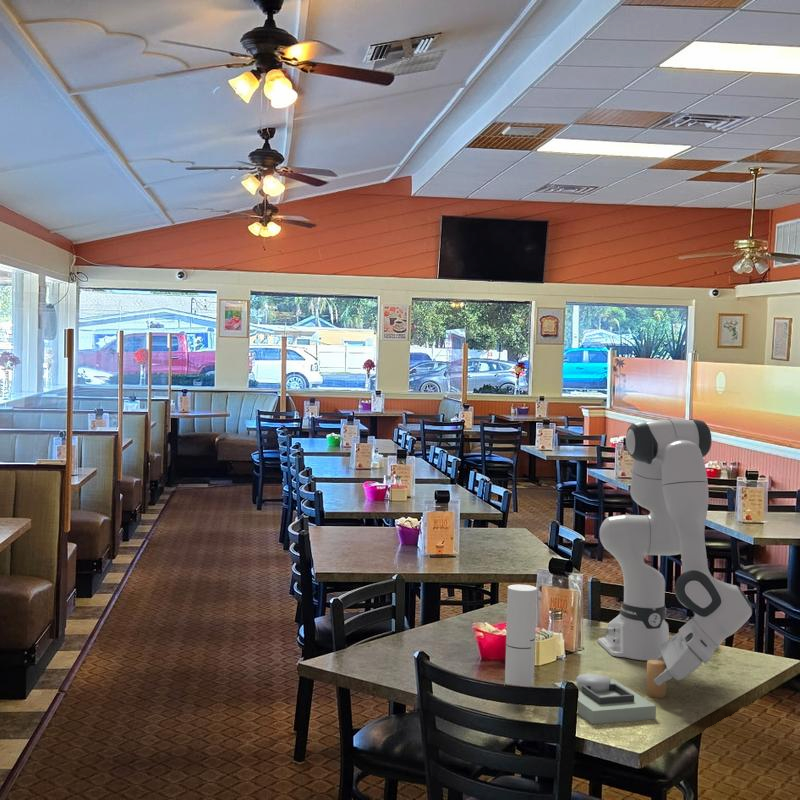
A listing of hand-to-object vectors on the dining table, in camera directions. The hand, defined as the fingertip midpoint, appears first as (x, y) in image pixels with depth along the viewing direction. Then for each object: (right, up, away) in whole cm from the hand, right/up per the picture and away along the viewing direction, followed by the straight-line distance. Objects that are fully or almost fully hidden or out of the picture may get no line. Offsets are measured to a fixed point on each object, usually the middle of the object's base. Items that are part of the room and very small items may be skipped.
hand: (653, 676), depth 242 cm
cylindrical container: (-33, -4, +3) cm, 33 cm away
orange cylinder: (+1, -4, 0) cm, 4 cm away
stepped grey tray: (-14, -4, -10) cm, 18 cm away
